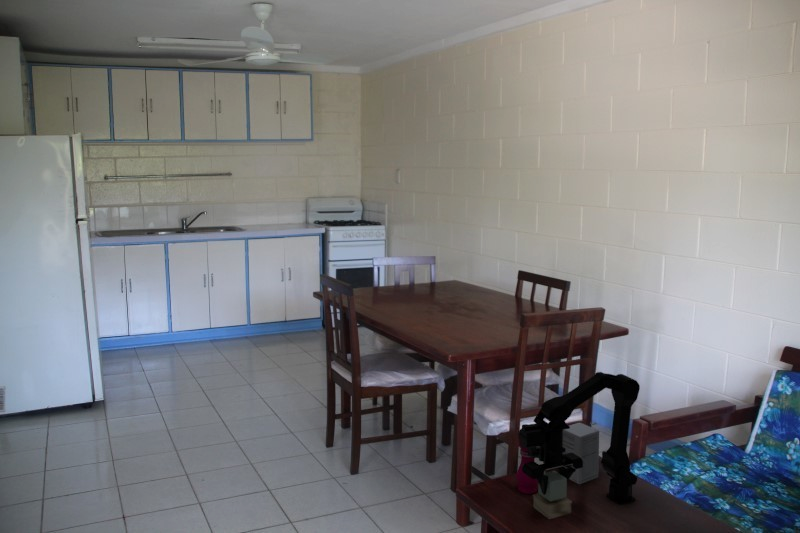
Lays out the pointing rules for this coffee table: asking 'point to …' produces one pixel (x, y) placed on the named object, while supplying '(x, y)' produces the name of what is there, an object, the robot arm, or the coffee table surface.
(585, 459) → the supplement box
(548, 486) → the sage block
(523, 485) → the pepper mill
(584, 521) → the coffee table surface
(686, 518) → the coffee table surface
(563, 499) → the oak box
